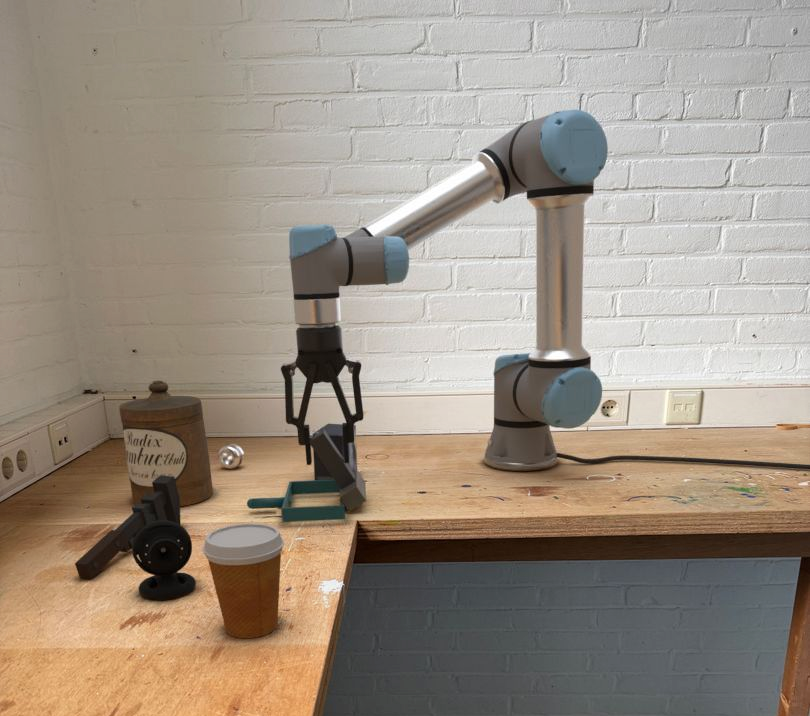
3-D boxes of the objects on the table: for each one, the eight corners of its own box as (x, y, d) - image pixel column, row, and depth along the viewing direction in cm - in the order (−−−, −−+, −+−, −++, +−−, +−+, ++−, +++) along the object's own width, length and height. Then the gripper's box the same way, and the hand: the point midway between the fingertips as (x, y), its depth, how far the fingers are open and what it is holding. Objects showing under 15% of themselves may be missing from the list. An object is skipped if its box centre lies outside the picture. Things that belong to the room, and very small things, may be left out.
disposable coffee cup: (217, 613, 102) (207, 524, 98) (292, 608, 103) (285, 520, 99) (206, 647, 93) (194, 551, 89) (288, 642, 94) (280, 546, 90)
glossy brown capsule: (344, 497, 141) (337, 503, 142) (344, 503, 137) (336, 510, 138) (351, 504, 142) (343, 510, 142) (351, 511, 138) (343, 517, 138)
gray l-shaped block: (365, 482, 147) (326, 423, 143) (366, 501, 136) (323, 437, 132) (349, 492, 148) (310, 433, 144) (349, 511, 136) (306, 448, 132)
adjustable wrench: (87, 604, 117) (171, 519, 137) (103, 606, 116) (185, 520, 137) (70, 556, 113) (159, 475, 133) (86, 557, 112) (174, 476, 132)
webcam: (141, 605, 105) (131, 533, 101) (135, 585, 111) (125, 517, 108) (201, 594, 108) (193, 524, 104) (192, 575, 114) (184, 509, 111)
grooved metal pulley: (245, 467, 173) (243, 444, 171) (238, 470, 170) (236, 447, 169) (225, 465, 174) (223, 443, 173) (218, 469, 172) (215, 446, 170)
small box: (345, 487, 156) (342, 434, 152) (313, 486, 157) (310, 433, 153) (359, 473, 165) (357, 423, 162) (329, 472, 167) (326, 422, 163)
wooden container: (116, 505, 148) (97, 386, 141) (164, 484, 161) (150, 374, 154) (183, 511, 143) (168, 388, 136) (228, 489, 156) (216, 376, 149)
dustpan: (346, 495, 151) (345, 479, 149) (345, 524, 135) (344, 505, 133) (253, 499, 150) (252, 482, 149) (241, 528, 134) (239, 510, 133)
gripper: (374, 321, 136) (381, 454, 143) (263, 326, 135) (276, 459, 143) (376, 324, 128) (382, 464, 136) (258, 329, 128) (271, 470, 135)
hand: (328, 461), depth 139 cm, fingers closed on gray l-shaped block, 6 cm apart
